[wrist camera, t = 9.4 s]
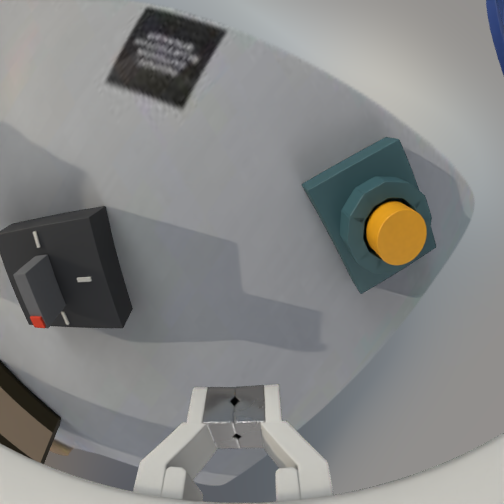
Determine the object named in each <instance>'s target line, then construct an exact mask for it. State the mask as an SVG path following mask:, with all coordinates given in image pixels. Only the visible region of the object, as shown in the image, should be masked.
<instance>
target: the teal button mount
mask: <svg viewBox="0 0 504 504" xmlns="http://www.w3.org/2000/svg"><path fill="white" fill-rule="evenodd" d="M302 186H303V188H304V190H305V192H306V193H307V195H308V197H309V199H310V200H311V202H312V204H313V206H314V208H315V209H316V211H317V213H318V215H319V217H320V219H321V220H322V222H323V224H324V226H325V228H326V230H327V232H328V234H329V235H330V237H331V239H332V241H333V243H334V245H335V247H336V249H337V251H338V253H339V255H340V257H341V259H342V261H343V263H344V265H345V267H346V269H347V271H348V273H349V275H350V277H351V279H352V281H353V283H354V284H355V286H356V287H357V289H358V291H359V292H360V293H361V294H362V293H364V292H365V291H367V290H369V289H370V288H372V287H374V286H376V285H377V284H379V283H381V282H382V281H384V280H386V279H387V278H389V277H390V276H392V275H394V274H395V273H397V272H399V271H400V270H402V269H403V268H405V267H407V266H408V265H410V264H411V263H413V262H414V261H416V260H418V259H419V258H421V257H422V256H424V255H425V254H427V253H428V252H430V251H431V250H433V249H434V248H436V244H435V240H434V236H433V233H432V229H431V226H430V225H431V219H432V218H431V214H430V210H429V207H428V204H427V201H426V198H425V195H423V194H422V193H421V192H420V191H419V189H418V186H417V183H416V180H415V177H414V175H413V172H412V170H411V167H410V164H409V162H408V159H407V157H406V154H405V152H404V150H403V147H402V145H401V143H400V140H399V139H395V138H388V137H385V138H384V139H382V140H380V141H378V142H376V143H374V144H373V145H371V146H369V147H367V148H365V149H363V150H362V151H360V152H358V153H356V154H354V155H353V156H351V157H349V158H347V159H345V160H344V161H342V162H340V163H338V164H336V165H335V166H333V167H331V168H329V169H328V170H326V171H324V172H322V173H320V174H319V175H317V176H315V177H313V178H312V179H310V180H308V181H307V182H305V183H303V184H302ZM389 201H398V202H401V203H403V204H405V205H406V206H408V207H410V208H411V209H413V210H415V211H416V212H418V213H419V214H420V215H421V216H422V217H423V219H424V221H425V224H426V229H427V235H426V241H425V244H424V246H423V248H422V250H421V251H420V253H419V254H418V255H417V256H416V257H415V258H414V259H413V260H412V261H410V262H408V263H406V264H403V265H391V264H388V263H386V262H385V261H383V260H382V259H381V257H380V256H379V255H378V254H377V253H376V252H375V251H374V250H373V249H372V248H371V246H370V245H369V243H368V241H367V238H366V225H367V221H368V219H369V217H370V215H371V214H372V212H373V211H374V210H375V209H376V208H377V207H378V206H380V205H381V204H383V203H385V202H389Z"/></svg>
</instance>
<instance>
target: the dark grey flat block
mask: <svg viewBox="0 0 504 504" xmlns="http://www.w3.org/2000/svg"><path fill="white" fill-rule="evenodd" d="M0 254H1V257H2V260H3V263H4V266H5V269H6V271H7V274H8V277H9V279H10V282H11V284H12V287H13V289H14V292H15V294H16V297H17V299H18V301H19V304H20V306H21V308H22V310H23V312H24V315H25V317H26V319H27V321H28V323H29V325H33V323H32V321H31V319H30V317H31V316H30V314H29V312H28V310H27V307H26V305H25V303H24V301H23V298H22V296H21V293H20V291H19V288H18V286H17V283H16V281H15V278H14V276H13V274H14V273H16V272H17V271H18V270H19V269H20V268H21V267H23V266H24V265H25V264H26V263H27V262H29V261H30V260H31V259H32V258H34V257H35V256H38V255H48V257H49V260H50V263H51V266H52V269H53V272H54V275H55V277H56V280H57V283H58V286H59V288H60V291H61V294H62V296H63V299H64V301H65V304H66V306H65V307H64V309H63V310H62V311H61V312H60V314H59V315H58V316H57V317H56V319H55V320H54V321H53V323H52V324H51V325H50V326H61V327H86V328H123V327H124V325H125V323H126V321H127V319H128V317H129V315H130V313H131V311H132V309H133V308H132V305H131V302H130V299H129V296H128V293H127V289H126V286H125V283H124V279H123V276H122V272H121V269H120V265H119V261H118V258H117V254H116V250H115V246H114V242H113V238H112V234H111V230H110V225H109V221H108V216H107V211H106V207H105V206H103V207H97V208H91V209H85V210H79V211H74V212H68V213H63V214H57V215H52V216H47V217H42V218H37V219H33V220H28V221H23V222H19V223H14V224H11V225H10V226H8V227H6V228H5V229H3V230H2V231H0Z"/></svg>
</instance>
